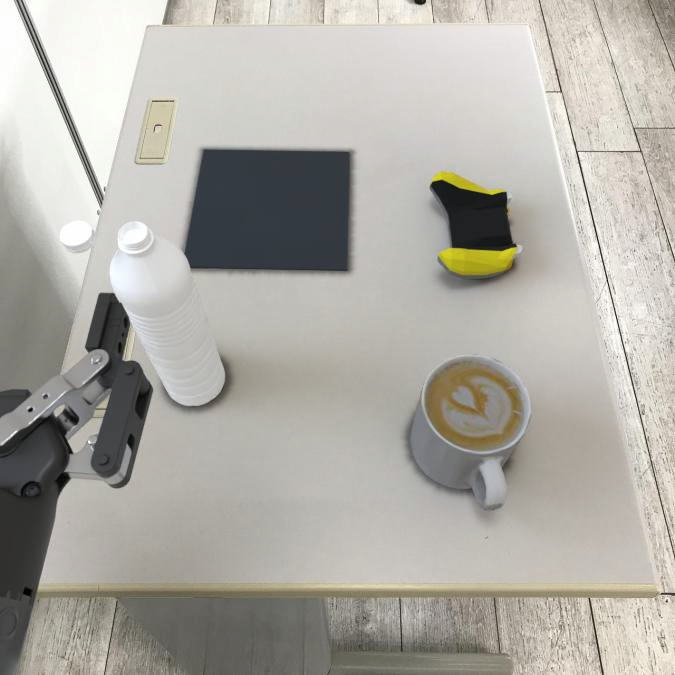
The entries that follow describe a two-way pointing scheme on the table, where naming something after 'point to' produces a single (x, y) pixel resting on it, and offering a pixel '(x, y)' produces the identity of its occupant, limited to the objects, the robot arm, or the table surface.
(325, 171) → the mat
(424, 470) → the coffee mug
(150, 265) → the water bottle
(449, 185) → the gaming controller
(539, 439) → the table surface
